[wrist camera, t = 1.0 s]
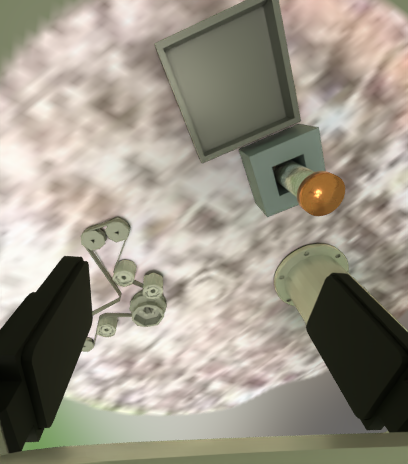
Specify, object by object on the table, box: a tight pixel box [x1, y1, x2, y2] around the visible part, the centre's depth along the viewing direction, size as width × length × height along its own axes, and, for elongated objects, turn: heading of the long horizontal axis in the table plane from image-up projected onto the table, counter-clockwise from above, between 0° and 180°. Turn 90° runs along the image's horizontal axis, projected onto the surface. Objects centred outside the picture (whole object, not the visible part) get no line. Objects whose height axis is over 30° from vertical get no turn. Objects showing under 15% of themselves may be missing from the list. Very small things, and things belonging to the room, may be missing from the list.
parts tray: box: [155, 0, 301, 163], centre depth 28 cm, size 12×12×3 cm
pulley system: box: [81, 218, 167, 352], centre depth 40 cm, size 27×5×15 cm
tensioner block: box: [239, 124, 325, 217], centre depth 32 cm, size 8×8×5 cm
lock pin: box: [272, 160, 345, 216], centre depth 28 cm, size 4×4×12 cm
